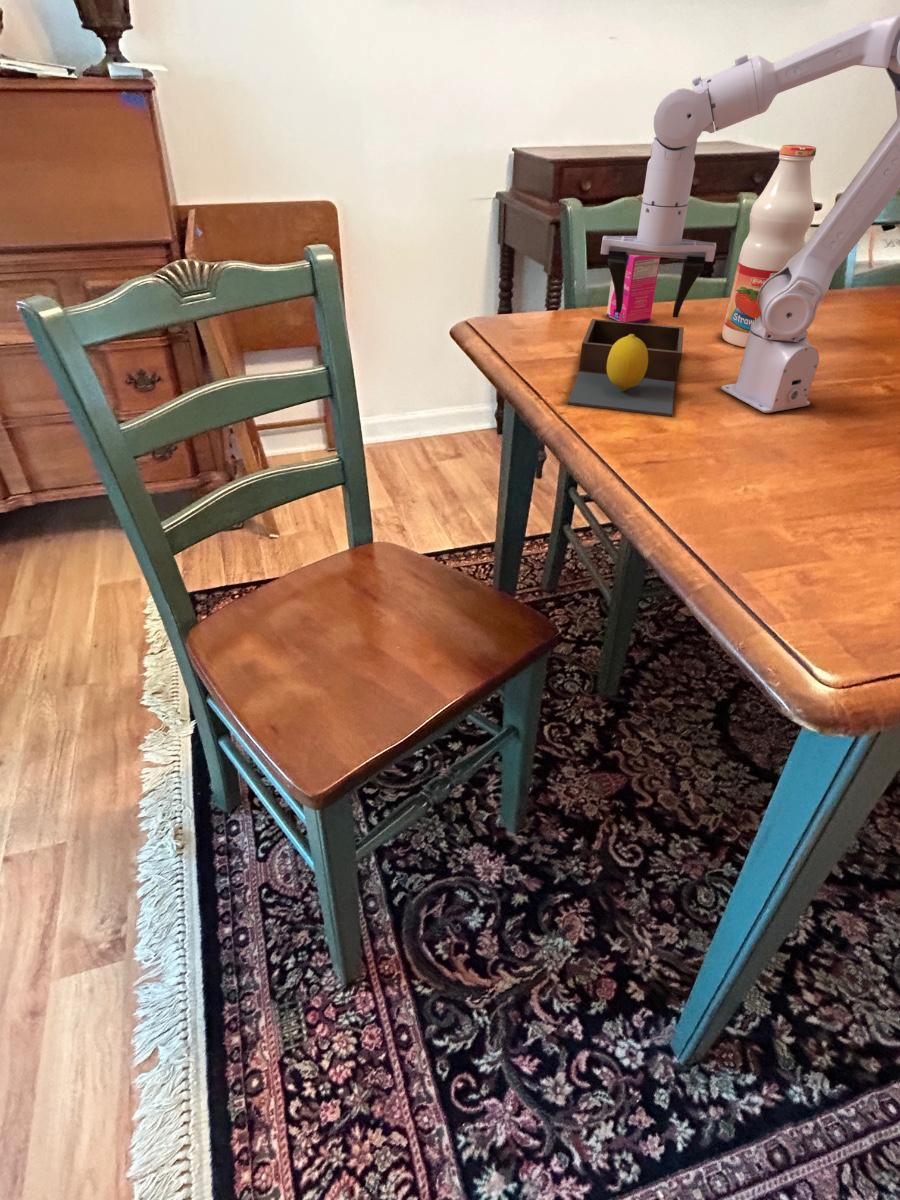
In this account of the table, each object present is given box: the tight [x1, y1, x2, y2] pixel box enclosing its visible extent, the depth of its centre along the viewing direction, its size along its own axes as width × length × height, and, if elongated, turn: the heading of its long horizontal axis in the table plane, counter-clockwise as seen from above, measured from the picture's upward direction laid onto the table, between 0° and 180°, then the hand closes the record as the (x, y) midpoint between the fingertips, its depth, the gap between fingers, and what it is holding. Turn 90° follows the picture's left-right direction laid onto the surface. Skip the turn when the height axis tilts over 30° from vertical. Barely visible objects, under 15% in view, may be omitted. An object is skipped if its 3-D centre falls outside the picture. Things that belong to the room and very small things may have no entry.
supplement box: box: [606, 255, 661, 324], centre depth 130 cm, size 6×6×12 cm
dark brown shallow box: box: [578, 318, 685, 383], centre depth 114 cm, size 14×12×4 cm
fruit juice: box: [721, 144, 817, 348], centre depth 116 cm, size 9×9×28 cm
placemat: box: [567, 371, 676, 417], centre depth 105 cm, size 14×12×1 cm
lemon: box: [607, 334, 648, 391], centre depth 103 cm, size 6×6×8 cm
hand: (646, 313), depth 103 cm, fingers open, 7 cm apart
